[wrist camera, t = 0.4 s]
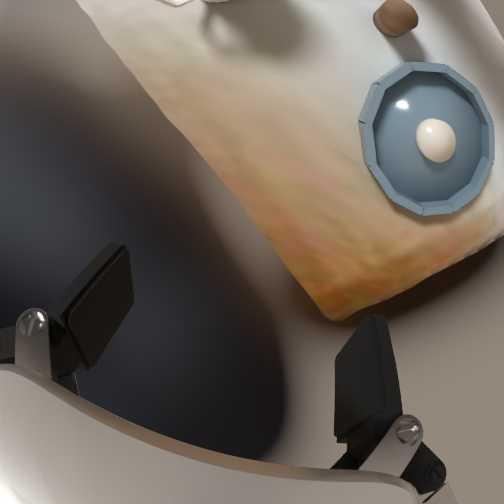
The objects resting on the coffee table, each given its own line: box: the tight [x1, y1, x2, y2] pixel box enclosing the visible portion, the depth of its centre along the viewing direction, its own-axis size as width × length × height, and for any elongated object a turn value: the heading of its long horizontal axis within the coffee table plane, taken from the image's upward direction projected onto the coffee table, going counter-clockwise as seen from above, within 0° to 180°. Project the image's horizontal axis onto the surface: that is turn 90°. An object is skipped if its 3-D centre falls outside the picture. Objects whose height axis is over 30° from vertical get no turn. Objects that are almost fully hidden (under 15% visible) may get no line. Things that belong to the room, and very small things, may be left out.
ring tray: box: [358, 61, 494, 216], centre depth 27 cm, size 21×21×3 cm
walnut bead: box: [373, 0, 418, 37], centre depth 19 cm, size 4×4×5 cm
